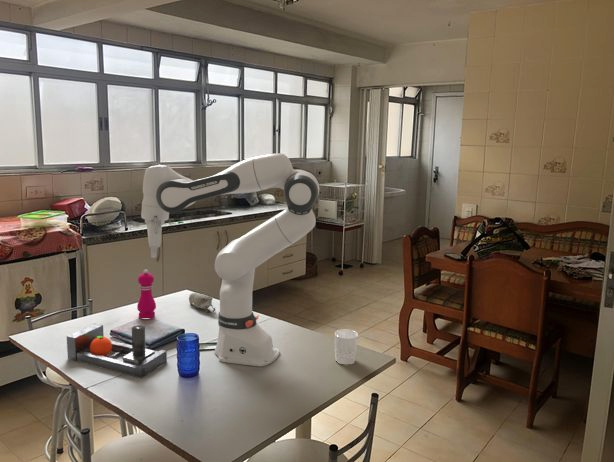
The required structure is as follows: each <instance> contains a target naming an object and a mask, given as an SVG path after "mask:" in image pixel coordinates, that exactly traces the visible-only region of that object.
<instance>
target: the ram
mask: <svg viewBox="0 0 614 462" xmlns="http://www.w3.org/2000/svg"><path fill="white" fill-rule="evenodd" d="M131 342H132V343H131V345H132V352H131V353H129V354H127V355H124V356H122V361H124V362H128V363H132V364H136V365H137V364H138V363H140V362H142V361H143V360H145V359H147V358H148V357H150V356H152V355H153V354H155V351H156V350H153V349H149V350H148V348H146V326H145V325H139V324H138V325H134V326H132V327H131Z"/></svg>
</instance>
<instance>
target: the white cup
mask: <svg viewBox="0 0 614 462" xmlns="http://www.w3.org/2000/svg"><path fill="white" fill-rule="evenodd" d="M358 338H359V334H358V332H357V331H355V330H352V329H347V328H342V329H337V330H336V331H335V332H334V361H335V360H336V361H337V362H338V363H341V364H351V363H353V364H355V362H356V355H357V348H358ZM336 361H335V362H336ZM337 362H336V363H337ZM338 363H337V364H338ZM351 365H352V364H351Z"/></svg>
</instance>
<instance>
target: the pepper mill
mask: <svg viewBox="0 0 614 462" xmlns="http://www.w3.org/2000/svg"><path fill="white" fill-rule="evenodd" d="M154 279H155V278H154V275H153V274H152V273H150V272H149V270H148V269H144V270H143V273H141V274H139V275H138V278H137V282H138V284H139V290H140V297H139V300H138V301H137V308H136V309H137V311H138V318H139V319H140V318H152V319H154V318H155V317H156V312H155V310H156V307H157V305H156V300H155V299H154V297H153V293H152V291H153V283H154V281H155V280H154Z"/></svg>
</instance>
